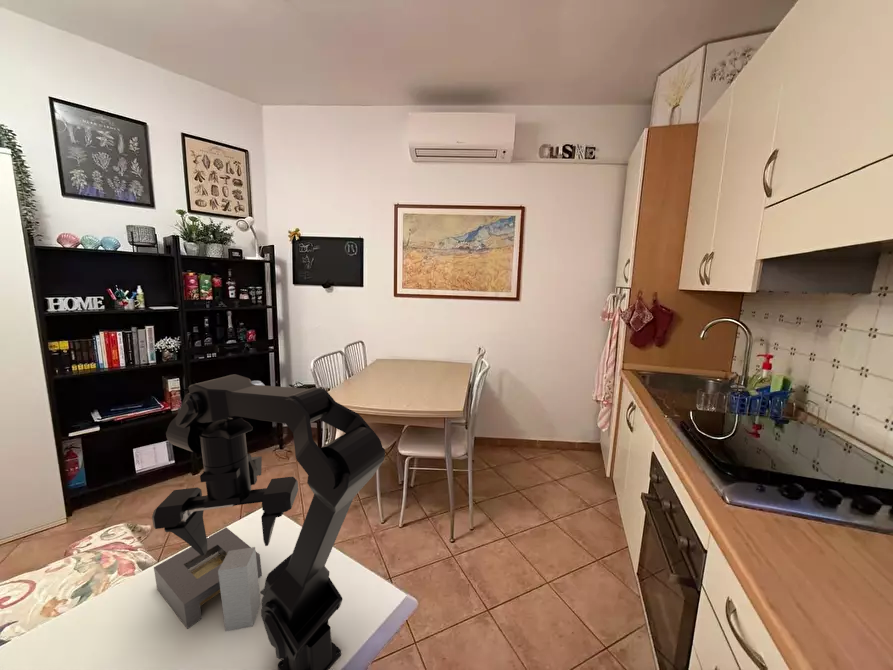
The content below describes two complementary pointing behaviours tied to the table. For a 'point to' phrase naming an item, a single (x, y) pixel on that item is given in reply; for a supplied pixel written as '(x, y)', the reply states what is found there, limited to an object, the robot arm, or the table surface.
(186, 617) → the slotted bridge-shaped block
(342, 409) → the robot arm
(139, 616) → the table surface
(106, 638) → the table surface
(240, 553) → the tall square pillar
